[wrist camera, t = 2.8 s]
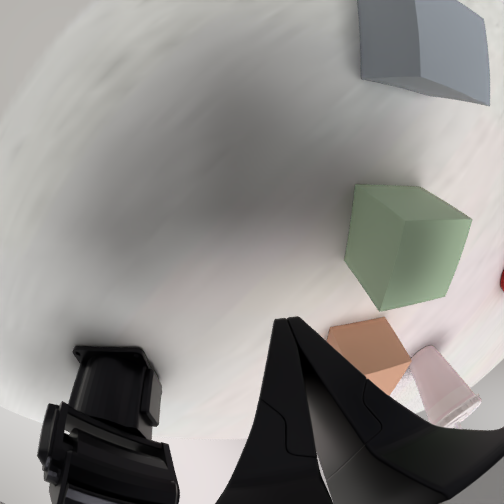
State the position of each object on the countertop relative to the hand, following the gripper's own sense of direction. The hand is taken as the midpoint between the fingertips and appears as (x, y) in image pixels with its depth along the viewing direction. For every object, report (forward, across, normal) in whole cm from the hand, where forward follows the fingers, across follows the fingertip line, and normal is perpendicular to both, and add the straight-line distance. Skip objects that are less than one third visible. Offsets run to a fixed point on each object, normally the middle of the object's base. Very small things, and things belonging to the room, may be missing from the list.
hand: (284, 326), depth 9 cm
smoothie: (+7, -19, +17) cm, 27 cm away
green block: (+7, -8, 0) cm, 11 cm away
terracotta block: (+7, -8, +11) cm, 15 cm away
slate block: (+7, -8, -11) cm, 16 cm away
